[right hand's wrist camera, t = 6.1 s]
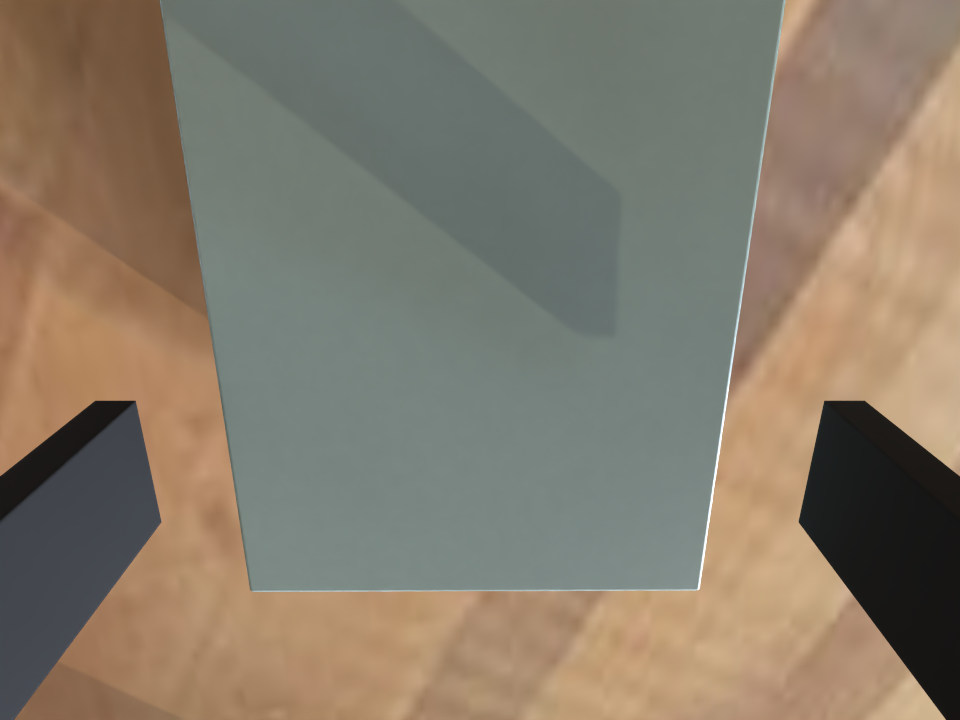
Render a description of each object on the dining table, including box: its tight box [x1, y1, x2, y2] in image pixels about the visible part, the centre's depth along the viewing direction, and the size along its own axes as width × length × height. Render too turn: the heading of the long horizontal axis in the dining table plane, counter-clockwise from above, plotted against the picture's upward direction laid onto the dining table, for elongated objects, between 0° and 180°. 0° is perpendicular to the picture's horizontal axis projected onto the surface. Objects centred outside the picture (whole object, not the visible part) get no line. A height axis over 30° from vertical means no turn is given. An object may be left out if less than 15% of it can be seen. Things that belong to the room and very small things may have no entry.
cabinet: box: [160, 0, 786, 592], centre depth 17 cm, size 20×11×10 cm, turn 0°
